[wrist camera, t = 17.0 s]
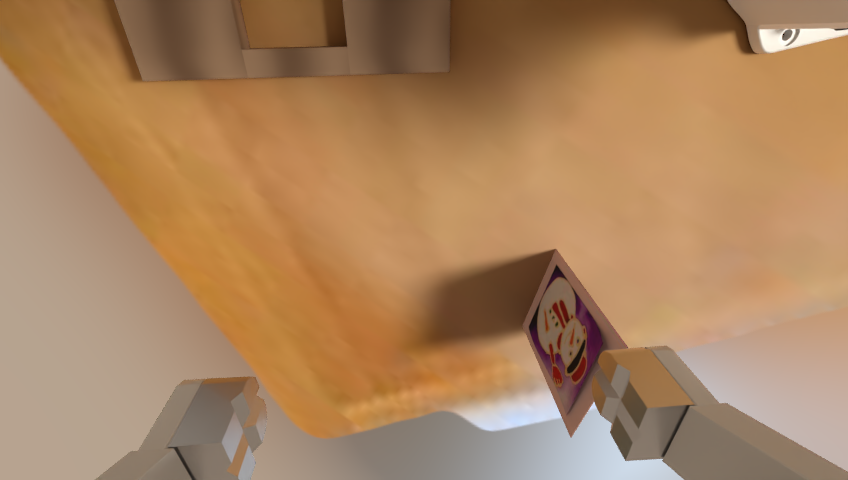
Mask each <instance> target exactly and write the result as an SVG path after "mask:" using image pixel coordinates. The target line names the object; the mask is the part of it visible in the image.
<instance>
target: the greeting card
mask: <svg viewBox="0 0 848 480" xmlns="http://www.w3.org/2000/svg"><path fill="white" fill-rule="evenodd" d="M522 326H523V328H524V331H525V333H526V335H527V338H528V340H529V342H530V345H531V347H532V349H533V351H534V354H535V356H536V358H537V361H538V363H539V365H540V368H541V370H542V372H543V375H544V377H545V379H546V382H547V384H548V386H549V389H550V391H551V393H552V395H553V398H554V400H555V402H556V405H557V407H558V409H559V412H560V414H561V416H562V419H563V421H564V423H565V425H566V428H567V430H568V432H569V435H570V437H572V436H573V434H574V432H575V431H576V429H577V428H578V426H579V425H580V423H581V421H582V420H583V418H584V417H585V415H586V414H587V412H588V410H589V409H590V407H591V406H592V404H593V402H594V399H593V395H592V380H593V376H594V374H596V373H597V372H598V371H599V370H600V369H601V367H600V365H599V364H598V359H599V356H600V354H601V353H602V352H603V351H605V350H617V349H628V347H627V345H626V344H625V343H624V341H623V340H622V339H621V337H620V336H619V334H618V333H617V332H616V330H615V329H614V328H613V326H612V325H611V324H610V322H609V321H608V319H607V318H606V317H605V315H604V314H603V313H602V311H601V310H600V308H599V307H598V306H597V304H596V303H595V302H594V300H593V299H592V298H591V296H590V295H589V293H588V292H587V291H586V289H585V288H584V287H583V285H582V284H581V282H580V281H579V280H578V278H577V277H576V276H575V274H574V273H573V271H572V270H571V269H570V267H569V266H568V265H567V263H566V262H565V261H564V259H563V258H562V256H561V255H560V254H559V252H558V251H557V250H555V252H554V254H553V256H552V259H551V261H550V263H549V266H548V268H547V270H546V273H545V275H544V277H543V279H542V282H541V284H540V286H539V289H538V291H537V293H536V296H535V298H534V300H533V302H532V305H531V307H530V309H529V312H528V314H527V316H526V318H525V321H524V323H523V325H522Z"/></svg>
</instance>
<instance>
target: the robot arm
mask: <svg viewBox="0 0 848 480" xmlns="http://www.w3.org/2000/svg"><path fill="white" fill-rule="evenodd" d="M727 1H728V2H729V4H730V5H731V7H732V8H733V9H734V10H735V11H736V12H737V13H738V14H739V15H740V17H741V18H742V19H743V20H744V22H745V24H746V27H747V33H748V38H749V42H750V45H751V48H752V50H753V51H754V52H755V53H758V54H766V53H774V52H778V51H782V50H787V49H791V48H795V47H799V46H803V45H808V44H812V43H816V42H820V41H824V40H828V39H833V38H837V37H841V36H845V35H848V0H727ZM784 32H785V34H784V36H783V38H782V35H783V33H784ZM598 364H599V365H600V367H601V369H600V370H599V371H598V372H597V373H596V374H594V376H593V380H592V395H593V399H594V402H595V405H596V407H597V409H598V411H599V413H600V415H601V416H603V417H604V418H605V419H607V420H608V421H609V422H611V423H612V426H611V431H610V433H611V435H612V437H613V439H614V441H615V443H616V444H617V446H618V448H619V450H620V452H621V453H622V455H623V457H624V459H625V461H630V460H647V459H663V460H662V461H663V462H664V463H666V464H667V465H668V466H669V467H670V468H672V469H673V470H674V471H675V472H676V473H677V474H678V475H679V476H681V477H682V478H683V479H684V480H848V472H847V471H845V470H843V469H842V468H840V467H838V466H836V465H835V464H833V463H831V462H829V461H828V460H826V459H824V458H822V457H821V456H819V455H817V454H815V453H813V452H812V451H810V450H808V449H806V448H804V447H803V446H801V445H799V444H798V443H796V442H794V441H792V440H790V439H789V438H787V437H785V436H783V435H782V434H780V433H778V432H776V431H775V430H773V429H771V428H769V427H768V426H766V425H764V424H762V423H760V422H759V421H757V420H755V419H753V418H752V417H750V416H748V415H746V414H745V413H743V412H741V411H739V410H738V409H736V408H734V407H732V406H730V405H729V404H727V403H719V402H718V401H717V400H716V399H715V398H714V396H713V395H712V394H711V393H710V392H709V391H708V390H707V388H706V387H705V386H704V385H703V384H702V383H701V381H700V380H699V379H698V378H697V377H696V376H695V375H694V374H693V372H692V371H691V370H690V369H689V368H688V367H687V365H686V364H685V363H684V362H683V361H682V360H681V359H680V357H678V355H677V354H676V353H675V352H674V351H673V350H672V349H671V348H669V347H667V346H657V347H645V348H642V347H641V348H629V349H617V350H605V351H603V352H602V353H601V354H600V356H599V359H598ZM258 389H259V385H258V382H257V380H256V378H255V377H233V378H211V379H196V380H184V381H182V382H181V383H180V384H179V385H178V386H177V387H176V389H175V390H174V392H173V394H172V395H171V397H170V398H169V400H168V402H167V403H166V405H165V407H164V408H163V410H162V412H161V413H160V415H159V417H158V418H157V420H156V422H155V424H154V425H153V427H152V429H151V430H150V432H149V434H148V435H147V437H146V439H145V440H144V442H143V444H142V445H141V447H140V449H139V450H138V451H132V452H130V453H128V454H127V455H126V456H124V457H123V458H122V459H121V460H119V461H118V462H117V463H115V464H114V465H113V466H112V467H110V468H109V469H108V470H107V471H105V472H104V473H103V474H102V475H100V476H99V477H98V478H96V479H95V480H251V476H252V473H253V470H254V467H255V464H256V462H255V459H254V457H253V454H252V453H253V451H254V450H256V448H257V447H258V446H259V445H260V444H261V443H262V441H263V438H264V434H265V431H266V422H267V411H266V405H265V402H264V400H263V399H261V398H260V397H259V396H257V392H258Z"/></svg>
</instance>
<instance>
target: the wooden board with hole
mask: <svg viewBox="0 0 848 480" xmlns="http://www.w3.org/2000/svg"><path fill="white" fill-rule="evenodd" d="M342 1H343V11H344V20H345V29H346V39H347V46H323V47H284V48H250V45H249V41H248V36H247V32H246V27H245V23H244V18H243V14H242V9H241V5H240V0H114V2H115V5H116V7H117V10H118V13H119V16H120V19H121V21H122V24H123V27H124V30H125V32H126V35H127V38H128V41H129V44H130V46H131V49H132V52H133V55H134V58H135V60H136V63H137V66H138V69H139V72H140V74H141V77H142V80H143V81H168V80H201V79H234V78H268V77H301V76H334V75H368V74H401V73H434V72H450V0H342Z"/></svg>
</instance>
